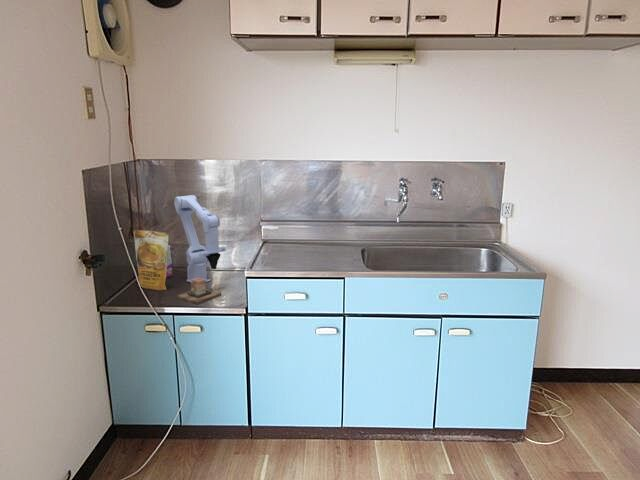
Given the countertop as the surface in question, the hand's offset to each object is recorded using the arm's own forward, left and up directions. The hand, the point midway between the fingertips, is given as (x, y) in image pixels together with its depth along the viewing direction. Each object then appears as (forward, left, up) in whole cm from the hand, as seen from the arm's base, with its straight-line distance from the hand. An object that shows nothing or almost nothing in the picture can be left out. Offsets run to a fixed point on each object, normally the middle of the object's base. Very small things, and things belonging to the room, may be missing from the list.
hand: (213, 268), depth 226 cm
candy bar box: (-35, -5, -11) cm, 37 cm away
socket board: (+2, -11, -10) cm, 15 cm away
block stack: (+2, -11, -9) cm, 14 cm away
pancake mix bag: (-26, -16, -11) cm, 32 cm away
